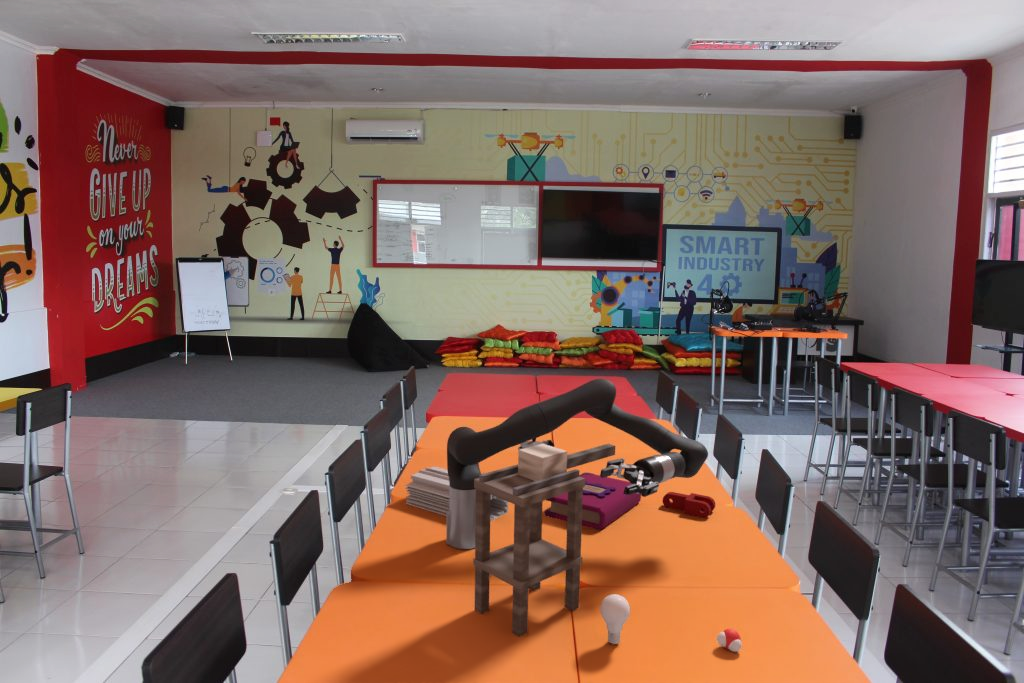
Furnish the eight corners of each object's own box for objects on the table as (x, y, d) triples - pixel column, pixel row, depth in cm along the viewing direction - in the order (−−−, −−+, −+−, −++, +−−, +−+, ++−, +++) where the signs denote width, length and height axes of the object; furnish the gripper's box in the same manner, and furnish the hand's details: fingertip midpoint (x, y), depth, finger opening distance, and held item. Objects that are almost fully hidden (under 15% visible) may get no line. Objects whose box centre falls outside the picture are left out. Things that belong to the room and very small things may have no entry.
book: (640, 504, 247) (641, 482, 246) (602, 532, 224) (603, 508, 223) (584, 491, 258) (585, 470, 257) (542, 516, 235) (542, 493, 234)
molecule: (736, 642, 164) (737, 624, 164) (743, 655, 160) (745, 636, 159) (713, 642, 164) (714, 624, 164) (720, 655, 159) (721, 637, 159)
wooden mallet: (542, 483, 169) (542, 457, 168) (517, 474, 175) (518, 449, 174) (623, 458, 189) (624, 435, 188) (599, 451, 195) (600, 428, 194)
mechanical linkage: (714, 512, 241) (715, 497, 240) (708, 519, 234) (709, 504, 234) (666, 502, 248) (667, 488, 248) (659, 509, 242) (660, 494, 241)
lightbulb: (596, 635, 166) (598, 589, 164) (624, 635, 167) (626, 588, 165) (602, 651, 160) (604, 603, 158) (631, 650, 160) (633, 602, 159)
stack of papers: (480, 527, 226) (481, 495, 224) (405, 504, 243) (405, 474, 241) (508, 513, 237) (508, 482, 236) (434, 492, 254) (434, 463, 253)
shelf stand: (519, 637, 165) (522, 491, 160) (472, 609, 176) (474, 473, 171) (580, 607, 178) (585, 472, 173) (533, 583, 190) (536, 456, 185)
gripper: (670, 495, 199) (629, 509, 188) (631, 469, 209) (590, 480, 198) (677, 471, 196) (636, 484, 186) (637, 445, 206) (596, 456, 196)
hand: (613, 482), depth 192 cm, fingers open, 8 cm apart
